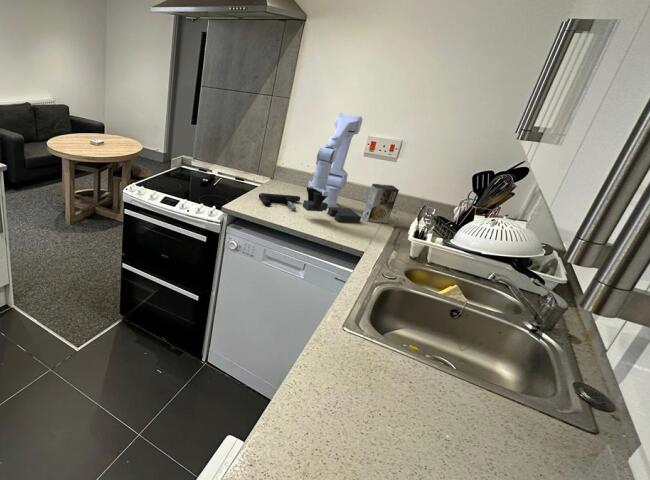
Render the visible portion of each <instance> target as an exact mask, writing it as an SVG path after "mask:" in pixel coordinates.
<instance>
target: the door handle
mask: <svg viewBox="0 0 650 480" xmlns="http://www.w3.org/2000/svg"><path fill="white" fill-rule="evenodd" d="M258 198H259V199H260V201H261V202H262V204H263V206H265V207H269V206H272V204H275V205H276V204H277V205H285V206H287V207H288V208H289V210H290V211H291V212H296V210H297V208H296V205H294V203H299V202H300V201H301V196H299V195H290V194H281V193H280V194H278V193H267V192H266V193H265V192H260V193H259V194H258Z"/></svg>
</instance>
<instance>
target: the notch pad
mask: <svg viewBox="0 0 650 480" xmlns="http://www.w3.org/2000/svg"><path fill="white" fill-rule="evenodd" d="M326 214H327V215H329V216H330V217H334V220H335V221H336V222H337V223H349V224H351V223H352V224H353V223H355V224H360V222H361V220H362V215H360V214H358V213H357V212H355V211H354V210H353V209H351V208H348V207H339V208H335V207H328V208H327V213H326Z"/></svg>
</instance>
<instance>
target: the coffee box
mask: <svg viewBox="0 0 650 480" xmlns="http://www.w3.org/2000/svg"><path fill="white" fill-rule="evenodd" d="M399 192H400V189H399V188H397V187H396V186H394V185H391V184H382V183H381V184H380V183H372V184H371V187H370V191H369V193H368V196H367V200H366V203H365V206H364V209H363V212H362V215H361V218H363V219H364V220H365V221H366V222H370V223H381V224H382V223H383V224H388V223H389V221H390V218H391V215H392V212H393V210H394V206H395V203H396V201H397V197H398V194H399Z"/></svg>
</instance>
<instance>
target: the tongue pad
mask: <svg viewBox="0 0 650 480" xmlns="http://www.w3.org/2000/svg"><path fill="white" fill-rule="evenodd" d="M313 206H314V201H308V199H307V200H306V199H304V200H303V203H302V208H303V209H305V210H306V211H307V212H321V213H322V212H325V211H328V208H329V207H328V204H327V203H325V202H322V204H321V205H320V207H319V209H314V208H313Z"/></svg>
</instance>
